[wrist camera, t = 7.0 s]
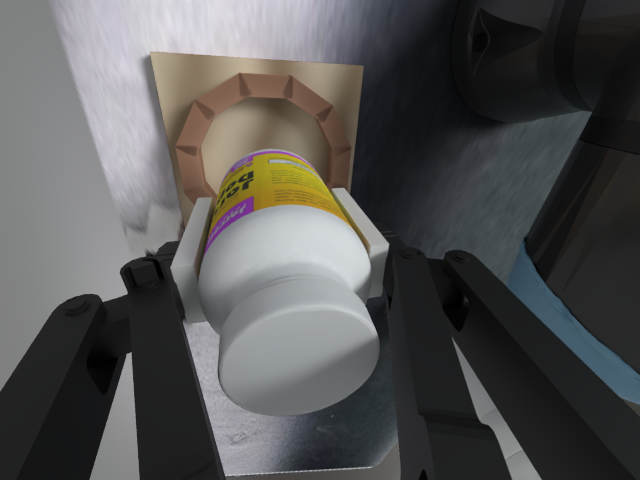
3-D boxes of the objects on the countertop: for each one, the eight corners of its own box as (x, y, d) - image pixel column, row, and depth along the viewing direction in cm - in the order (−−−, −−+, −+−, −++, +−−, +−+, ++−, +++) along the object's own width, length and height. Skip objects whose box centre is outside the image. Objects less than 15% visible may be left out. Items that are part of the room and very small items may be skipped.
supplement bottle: (244, 124, 17) (239, 230, 6) (340, 175, 19) (459, 311, 8) (203, 221, 19) (144, 427, 8) (293, 254, 22) (340, 441, 11)
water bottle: (438, 312, 43) (620, 548, 22) (393, 327, 43) (534, 582, 21) (438, 276, 39) (657, 518, 18) (388, 292, 39) (554, 559, 18)
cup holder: (359, 65, 25) (372, 65, 22) (342, 232, 33) (350, 246, 30) (153, 52, 22) (140, 49, 19) (190, 240, 30) (184, 256, 27)
